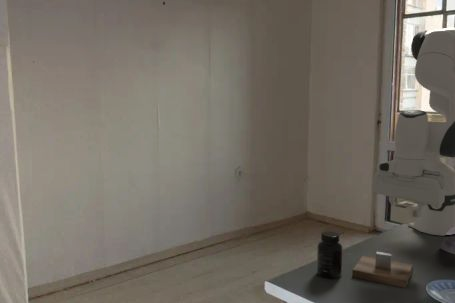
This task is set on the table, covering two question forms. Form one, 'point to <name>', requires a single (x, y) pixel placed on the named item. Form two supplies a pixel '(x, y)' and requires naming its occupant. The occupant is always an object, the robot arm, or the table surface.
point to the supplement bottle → (329, 256)
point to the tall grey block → (383, 260)
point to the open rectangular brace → (404, 212)
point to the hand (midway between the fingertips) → (405, 214)
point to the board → (383, 272)
